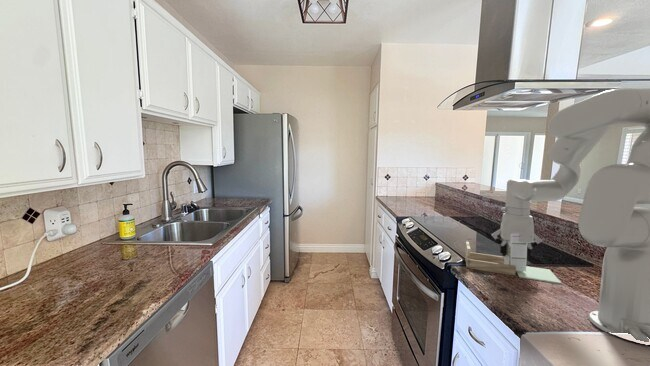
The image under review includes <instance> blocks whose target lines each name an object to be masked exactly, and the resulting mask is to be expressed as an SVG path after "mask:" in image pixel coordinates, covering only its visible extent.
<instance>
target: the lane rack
mask: <svg viewBox="0 0 650 366" xmlns="http://www.w3.org/2000/svg"><path fill="white" fill-rule="evenodd" d="M470 245H471V244H470V242H469V241H465V254H464V255H465V256H464V257H465V259H464V260H465V265H466V269H473V270H477V271H484V272H489V273H490V272H491V273H494V274H495V273H498V274H501V275H502V274H503V275H510V276H516V274H517V273H516V266H514V265H507V264H503V255H502V256H501V255H495V254H488V253H478V252H472V251H471V246H470Z"/></svg>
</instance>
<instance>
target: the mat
mask: <svg viewBox="0 0 650 366" xmlns="http://www.w3.org/2000/svg"><path fill="white" fill-rule="evenodd" d="M515 274H517V276H518V277H519V278H522V279H526V280H533V281H541V282H547V283H553V284H557V285H558V284H560V285H562V281H561V280H560V279H559V278H558V277H557V276H556V275H555V274H554V272H552V270H551V269H548V268H541V267H534V266H528V265H526V271H516V273H515Z"/></svg>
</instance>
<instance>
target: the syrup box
mask: <svg viewBox="0 0 650 366" xmlns="http://www.w3.org/2000/svg"><path fill="white" fill-rule="evenodd" d="M505 246H506V255H505V256H503V255H502V256H503V264H507V265H514V266H516V271H526V266H527V260H528V259H527V243H524V242H519V234H510V241H507V242H506V244H505Z"/></svg>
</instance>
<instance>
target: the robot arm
mask: <svg viewBox="0 0 650 366" xmlns="http://www.w3.org/2000/svg"><path fill="white" fill-rule="evenodd" d="M613 126H630V127H631V126H641V127H644V128H645V129H644V130H643V131H642V132H641V133H640V134H639V135H638V137H637V138H636V139H635V141H634V142H633V144H632V145H631V150H630V153H629V156H628V160H627V162H626V163H618V164H617V163H616V164H611V165H610V164H609V165H606V166H603V167H602V168H600V169H598V170H597V171H596V172H594V174H593V175H592V176H591V177H590V179H589V181H588V182H587V186H586V189H585V193H584V196H583V200H582V204H581V208H580V213H579V216H578V224H577V225H578V232H579V233H580V235H581V236H582V238H583V239H584V240H585V241H587V242H588V243H590V244H591V245H593V246H596V247H601V248H606V249H605V252H604V254H603V255H604V256H603V260H602V268H601V276H600V277H601V280H600V285H599V286H600V288H599V298H598V308H597V309H598V310H593V311H591V312H589V315H588V319H589V321H590V322H591V323H592V324H593V325H594V326H595V327H597V328H598V329H600V330H601V331H603V332H605V333H607V332H611V333H628V334H631V335H632V336H633V337H634V338H635V339H636V340H640V341H644V342H649V339H650V208H647V207H641V206H640V207H639V206H636V205H650V88H627V87H625V88H614V89H613V88H612V89H608V90H605V91H602V92H600V93H597V94H594V95H592V96H590V97H587V98H585V99H583V100H580V101H578V102H576V103H575V102H574V103H573V104H571V105H569V106H566V107H564V108H562V109H560V110H559V111H557V112H555V114H554V115H552V117H550V120H549V121H548V125H547V131H548V133H549V134H550V136H551V137H553V138H556V140H555V142H554V143H553V144H552V146H551V147H550V148H549V149H548V150H547V156H548V159H550V160H551V161H553V162H554V163H556V164H557V165H559V168H558V170H557V171H556V173H555V174H554V176H553V177H552V178H551V179H535V180H529V179H522V178H521V179H520V178H519V179H518V178H517V179H516V178H511V179H509V180H507V181H506V193H505V196H506V197H505V206H503V207H501V208H500V211H501V212H504V213H502V217H501V221H500V228H499V229H497V230H496V231H494V232H493V233H491V236H492V238H493V239H494V240H495V241H496V242H497V243H498V244H499V245H500V247H499V248H500V250H499V253H500V254H501V255H502V256H505V255H506V246H505V244H506V242H507V241H510V234H519V242H524V243H527V260H529V259H530V258H531V255H532V253H531V252H532V249H533V248H535V247H537V246H538V244H540V243H542V242H543V239H542V238H540V236H538V235H537V234H536V233H535V226H534V218H533V216H532V215H531V203H534V202H535V203H536V202H537V203H538V202H557V201H560V200H562V199H564V198H565V197H567V195H568V194H570V193H571V191H573V189H574V188H575V187H576V186H577V184H578V183H579V181H580V177H581V163H582V162H583V160H584V159H586V157H587V156H588V155H589V154H590V152H592V150H593V149H594V148H595V147H596V145H598V143H599V142H600V141H601V140H602V139H603V138H604V136H606V134H607V133H608V132H609V131H610V129H611V128H612V127H613ZM498 236H500V238H501V239H500V238H499V237H498ZM647 337H648V338H649V339H648V338H647Z"/></svg>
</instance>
